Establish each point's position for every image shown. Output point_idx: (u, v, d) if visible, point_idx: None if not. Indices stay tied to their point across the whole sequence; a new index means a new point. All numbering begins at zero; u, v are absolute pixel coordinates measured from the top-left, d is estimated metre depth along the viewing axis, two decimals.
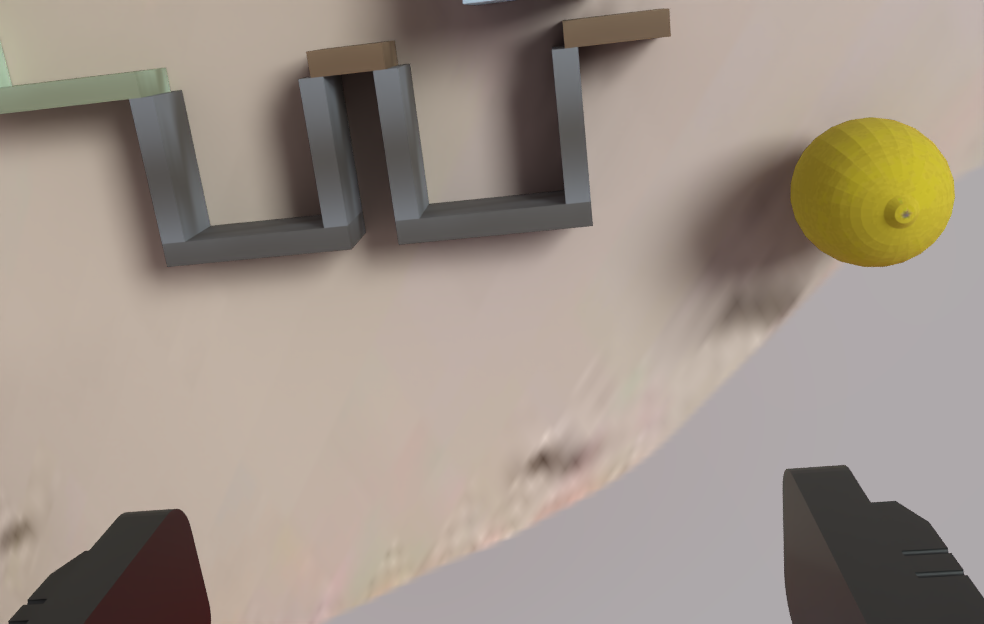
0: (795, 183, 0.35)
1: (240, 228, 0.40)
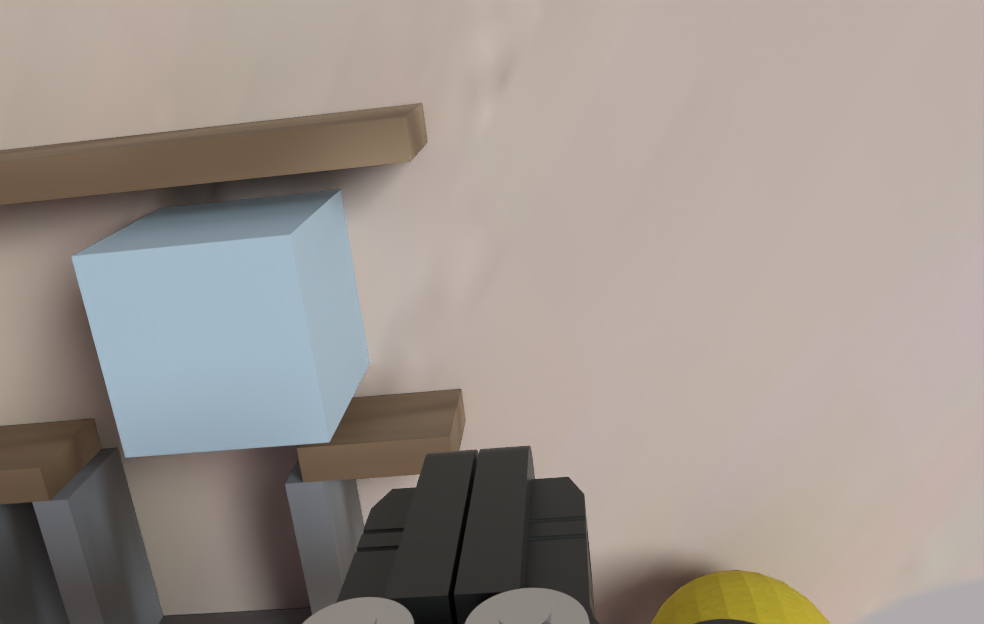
0: None
1: None
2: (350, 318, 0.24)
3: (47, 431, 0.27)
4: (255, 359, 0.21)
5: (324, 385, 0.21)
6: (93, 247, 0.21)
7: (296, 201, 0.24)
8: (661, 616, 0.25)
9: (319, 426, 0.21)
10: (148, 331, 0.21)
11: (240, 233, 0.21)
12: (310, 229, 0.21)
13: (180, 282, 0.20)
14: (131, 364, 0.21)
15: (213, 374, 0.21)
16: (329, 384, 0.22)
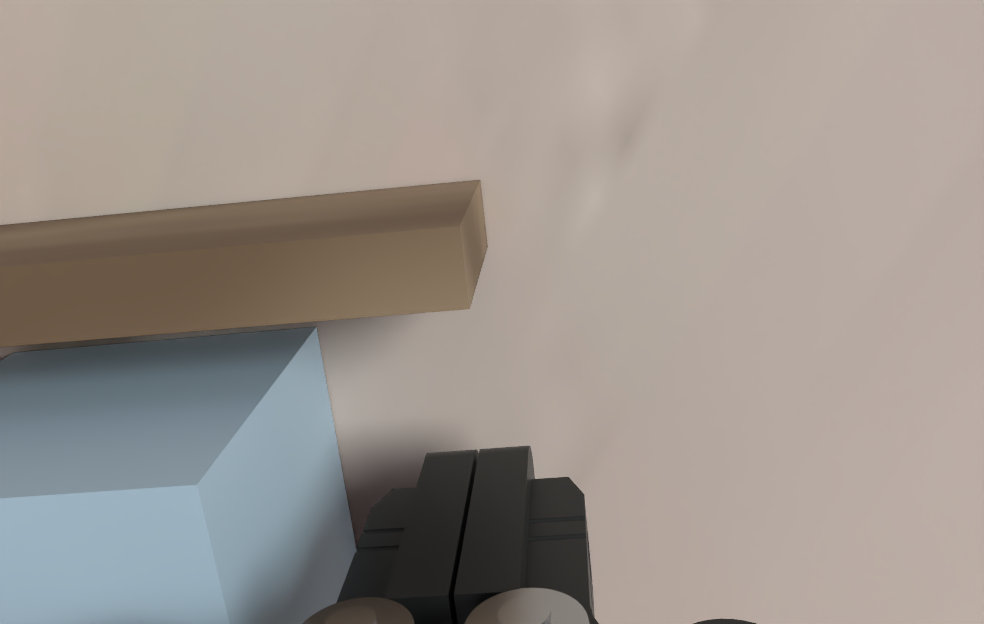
0: None
1: None
2: (330, 554, 0.14)
3: None
4: None
5: None
6: None
7: (234, 358, 0.13)
8: None
9: None
10: None
11: (103, 465, 0.10)
12: (248, 440, 0.11)
13: None
14: None
15: None
16: None
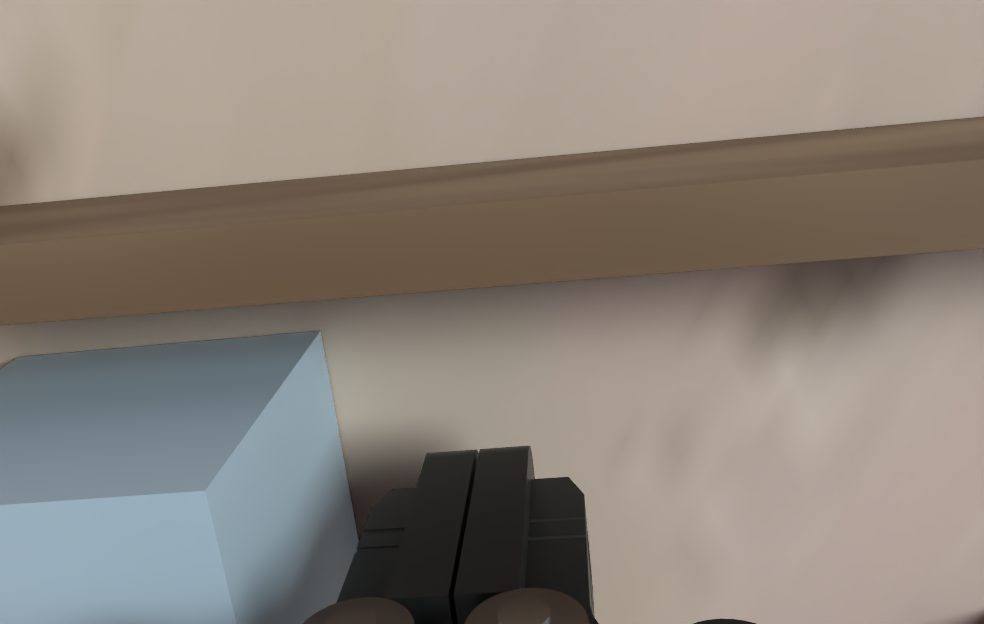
0: None
1: None
2: (335, 557, 0.14)
3: None
4: None
5: None
6: None
7: (240, 363, 0.13)
8: None
9: None
10: None
11: (111, 471, 0.10)
12: (255, 445, 0.11)
13: None
14: None
15: None
16: None
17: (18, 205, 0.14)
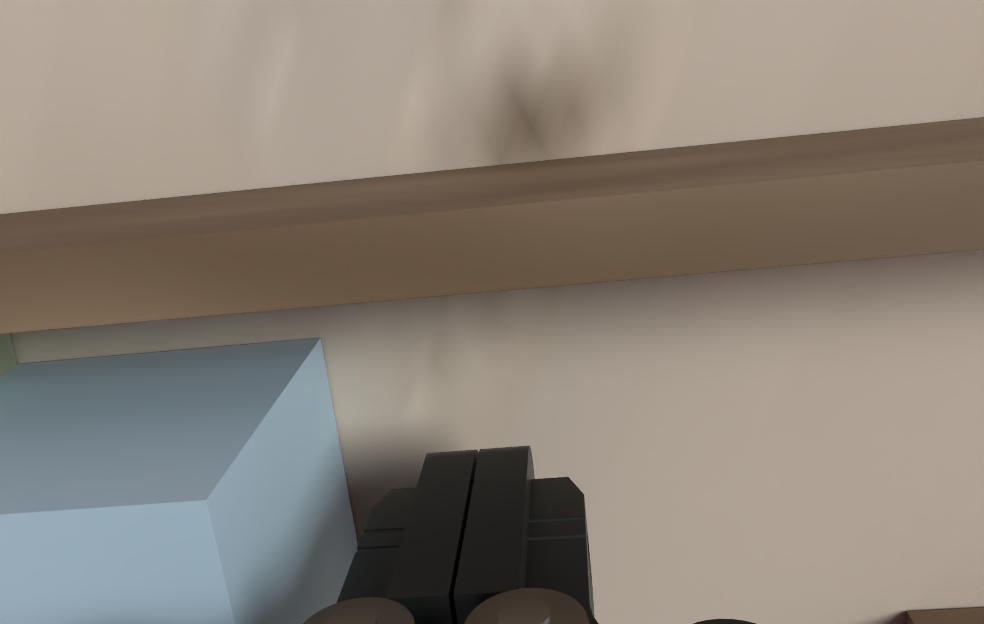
0: None
1: None
2: (335, 564, 0.14)
3: None
4: None
5: None
6: None
7: (240, 370, 0.13)
8: None
9: None
10: None
11: (112, 480, 0.10)
12: (256, 454, 0.11)
13: None
14: None
15: None
16: None
17: (574, 158, 0.13)
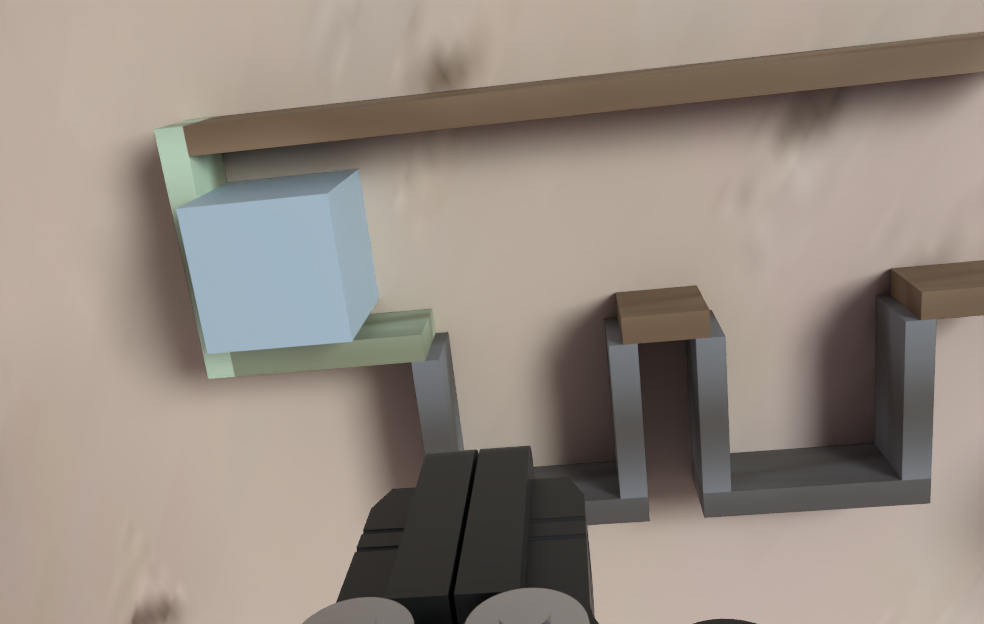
0: None
1: None
2: (365, 262, 0.34)
3: (670, 293, 0.34)
4: (301, 281, 0.30)
5: (348, 302, 0.31)
6: (189, 204, 0.30)
7: (327, 176, 0.33)
8: None
9: (345, 330, 0.31)
10: (227, 262, 0.30)
11: (292, 193, 0.30)
12: (339, 192, 0.31)
13: (251, 226, 0.30)
14: (214, 285, 0.30)
15: (271, 293, 0.30)
16: (352, 302, 0.31)
17: None
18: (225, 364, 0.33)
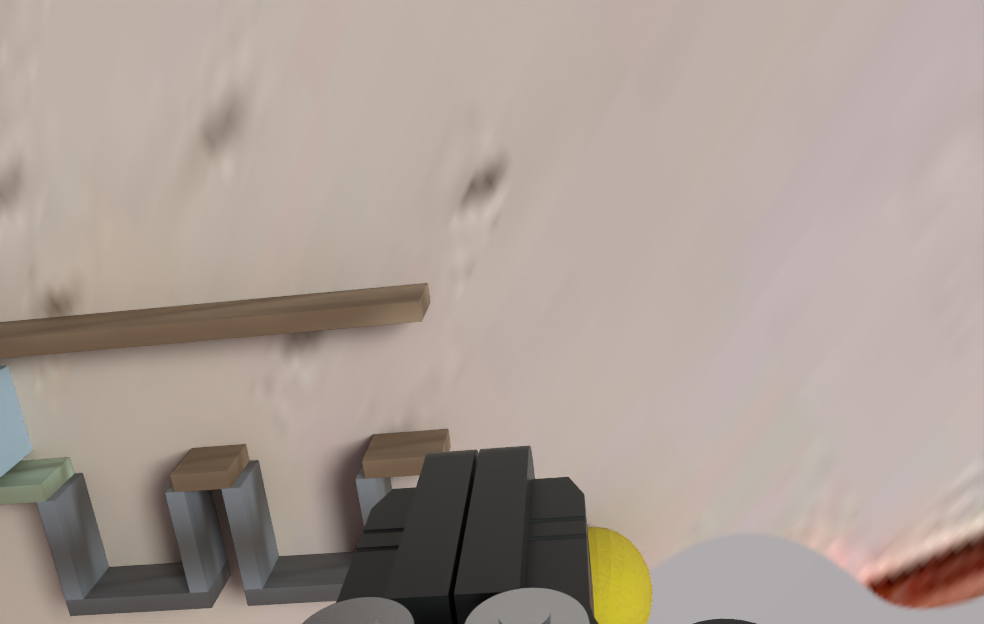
0: None
1: (129, 578, 0.51)
2: (11, 430, 0.49)
3: (222, 451, 0.49)
4: None
5: None
6: None
7: None
8: None
9: None
10: None
11: None
12: None
13: None
14: None
15: None
16: None
17: (69, 316, 0.48)
18: None
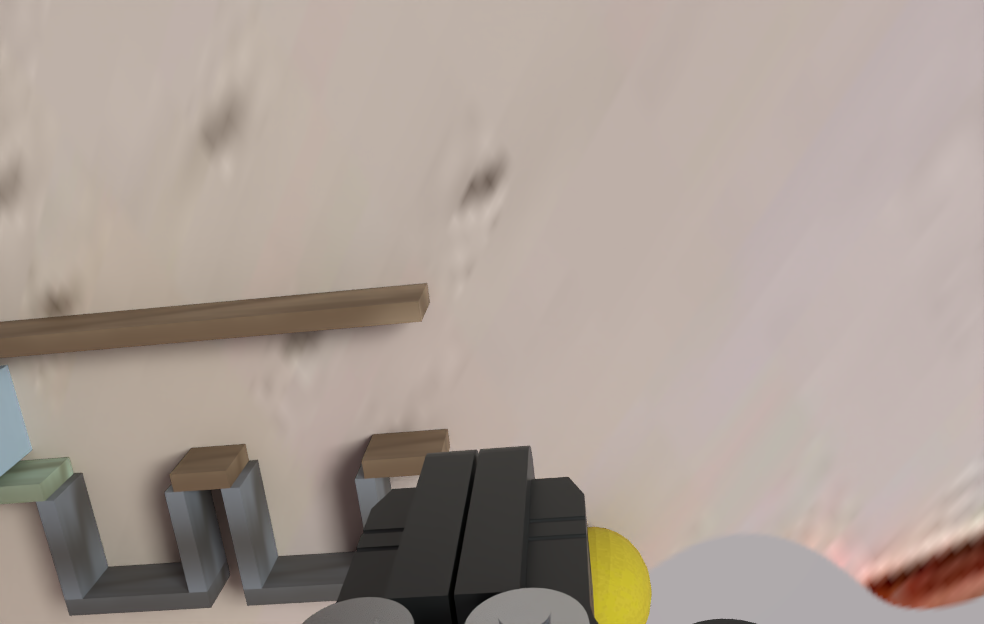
0: None
1: (129, 578, 0.51)
2: (10, 430, 0.49)
3: (221, 451, 0.49)
4: None
5: None
6: None
7: None
8: None
9: None
10: None
11: None
12: None
13: None
14: None
15: None
16: None
17: (69, 316, 0.48)
18: None
